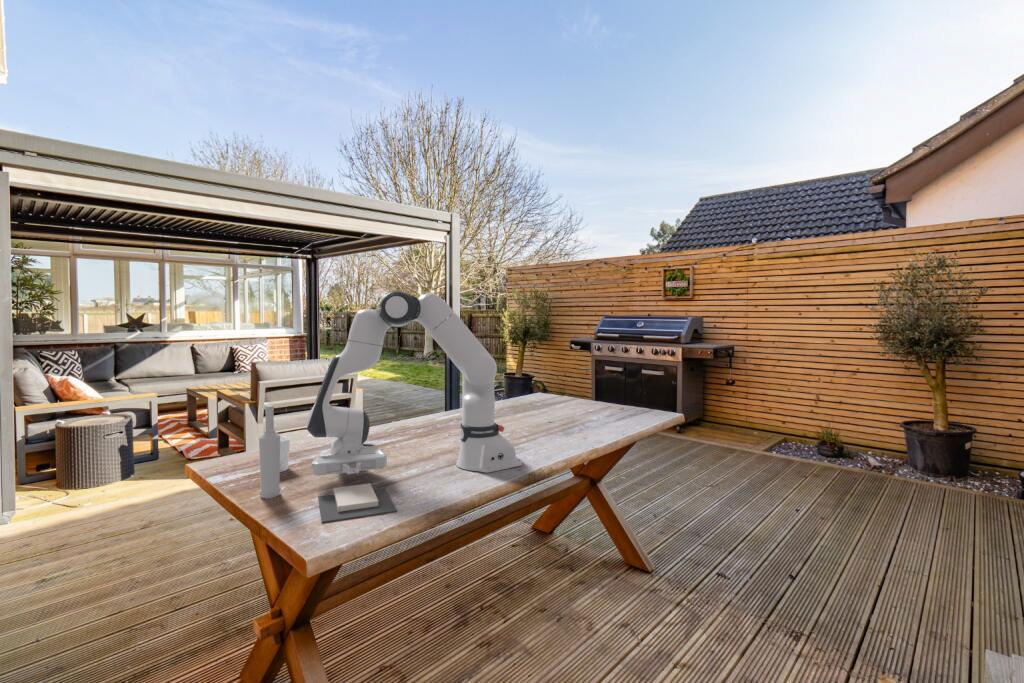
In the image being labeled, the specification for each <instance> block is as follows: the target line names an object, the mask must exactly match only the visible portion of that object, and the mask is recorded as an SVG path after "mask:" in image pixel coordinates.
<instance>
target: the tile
mask: <svg viewBox="0 0 1024 683" xmlns="http://www.w3.org/2000/svg"><path fill="white" fill-rule="evenodd" d="M373 489H374V488H373V486H372V484H371V482H370V483H363V484H353V485H347V486H339V487H333V493H332V494H334V497H335V502H336V506H337V510H338V512H341V511H348V510H355V509H362V508H369V507H376V506H378V499H377V497H376V495H375V492H374V490H373Z"/></svg>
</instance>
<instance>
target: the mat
mask: <svg viewBox="0 0 1024 683" xmlns="http://www.w3.org/2000/svg"><path fill="white" fill-rule="evenodd" d="M373 490H374V492H375V495H376V497H377V499H378V506H376V507H369V508H362V509H355V510H348V511H341V512H338V510H337V506H336V502H335V497H334V493H332V494H325V495H318V496H317V497H318V506H319V507H318V508H319V513H320V520H321V524H326V523H333V522H340V521H346V520H352V519H358V518H365V517H372V516H378V515H384V514H385V515H386V514H390V513H391V514H393V513H397V512H398V509H397V508H396V506H395V504H394V502H393V500H392V498H391V496H390V495H389V493H388V491H387V489H386V487H378V488H373Z"/></svg>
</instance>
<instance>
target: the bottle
mask: <svg viewBox="0 0 1024 683" xmlns="http://www.w3.org/2000/svg"><path fill="white" fill-rule="evenodd" d="M264 408H265V410H264V412H265V430H264V431H263V433H262V434H261V435H260V436H259V437H258V439H259V440H258V443H259V472H260V473H259V474H260V475H259V478H260V480H259V481H260V489H259V496H260V498H261V499H264V498H265V500H267V499H268V498H269V499H273V497H274V498H277V497H279V496H280V495H281V487H280V479H281V478H280V476H281V475H280V474H281V472H280V436H281V435H280V434H279V433H277V432H276V430H275V429H274V428H275V427H274V426H275V425H274V424H275V423H274V422H275V421H274V412H275V411H274V408H275V407H274V404H273V405H272V404H271V405H270V404H267V405H265V406H264ZM278 495H279V496H278ZM276 496H277V497H276Z"/></svg>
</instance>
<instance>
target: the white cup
mask: <svg viewBox="0 0 1024 683" xmlns="http://www.w3.org/2000/svg"><path fill="white" fill-rule="evenodd" d="M290 443H291V437H289V436H286V435H283V436H282V435H280V473H283V472H285V471H287V470H289V460H290V451H291V450H290V446H291V444H290Z"/></svg>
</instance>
